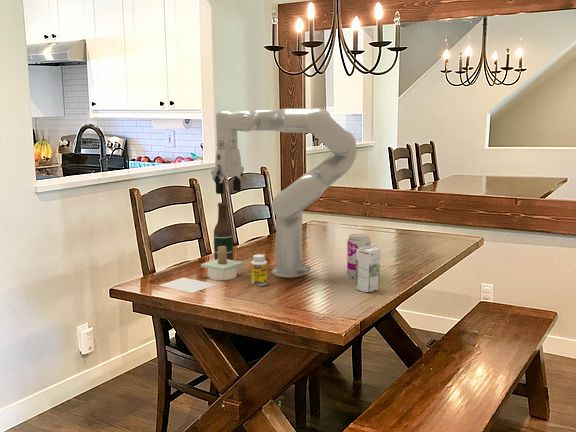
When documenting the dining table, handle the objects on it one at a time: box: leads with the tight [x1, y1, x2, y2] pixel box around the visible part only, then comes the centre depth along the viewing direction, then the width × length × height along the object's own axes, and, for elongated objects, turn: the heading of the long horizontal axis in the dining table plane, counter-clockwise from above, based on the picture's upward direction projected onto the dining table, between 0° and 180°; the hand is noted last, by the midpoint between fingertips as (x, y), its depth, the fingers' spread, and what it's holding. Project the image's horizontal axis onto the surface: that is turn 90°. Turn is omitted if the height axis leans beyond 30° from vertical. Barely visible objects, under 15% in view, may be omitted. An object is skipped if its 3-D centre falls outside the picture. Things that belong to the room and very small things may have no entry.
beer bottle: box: [213, 202, 234, 260], centre depth 244 cm, size 8×8×24 cm
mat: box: [158, 277, 217, 294], centre depth 213 cm, size 16×12×1 cm
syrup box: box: [355, 245, 381, 293], centre depth 205 cm, size 6×6×14 cm
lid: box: [200, 246, 245, 271], centre depth 222 cm, size 11×11×7 cm
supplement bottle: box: [250, 254, 268, 287], centre depth 214 cm, size 6×6×10 cm
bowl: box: [207, 267, 238, 281], centre depth 223 cm, size 10×10×4 cm
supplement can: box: [346, 233, 371, 279], centre depth 222 cm, size 8×8×15 cm
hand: (228, 192), depth 226 cm, fingers open, 9 cm apart
